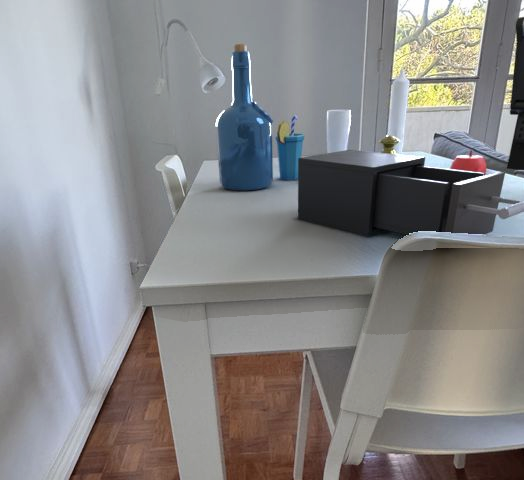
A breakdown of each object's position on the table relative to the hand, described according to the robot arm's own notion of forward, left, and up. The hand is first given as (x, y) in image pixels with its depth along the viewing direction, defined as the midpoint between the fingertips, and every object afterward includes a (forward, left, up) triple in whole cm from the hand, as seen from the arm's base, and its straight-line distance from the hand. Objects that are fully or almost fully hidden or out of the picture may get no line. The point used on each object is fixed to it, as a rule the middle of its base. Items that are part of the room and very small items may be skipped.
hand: (519, 168), depth 63 cm
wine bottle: (+59, -34, -12) cm, 69 cm away
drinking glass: (+47, -70, -12) cm, 85 cm away
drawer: (+8, -4, -11) cm, 14 cm away
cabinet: (+25, -11, -12) cm, 29 cm away
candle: (+31, -74, -12) cm, 81 cm away
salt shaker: (+29, -55, -12) cm, 63 cm away
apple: (+9, -47, -12) cm, 49 cm away
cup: (+53, -48, -12) cm, 72 cm away
